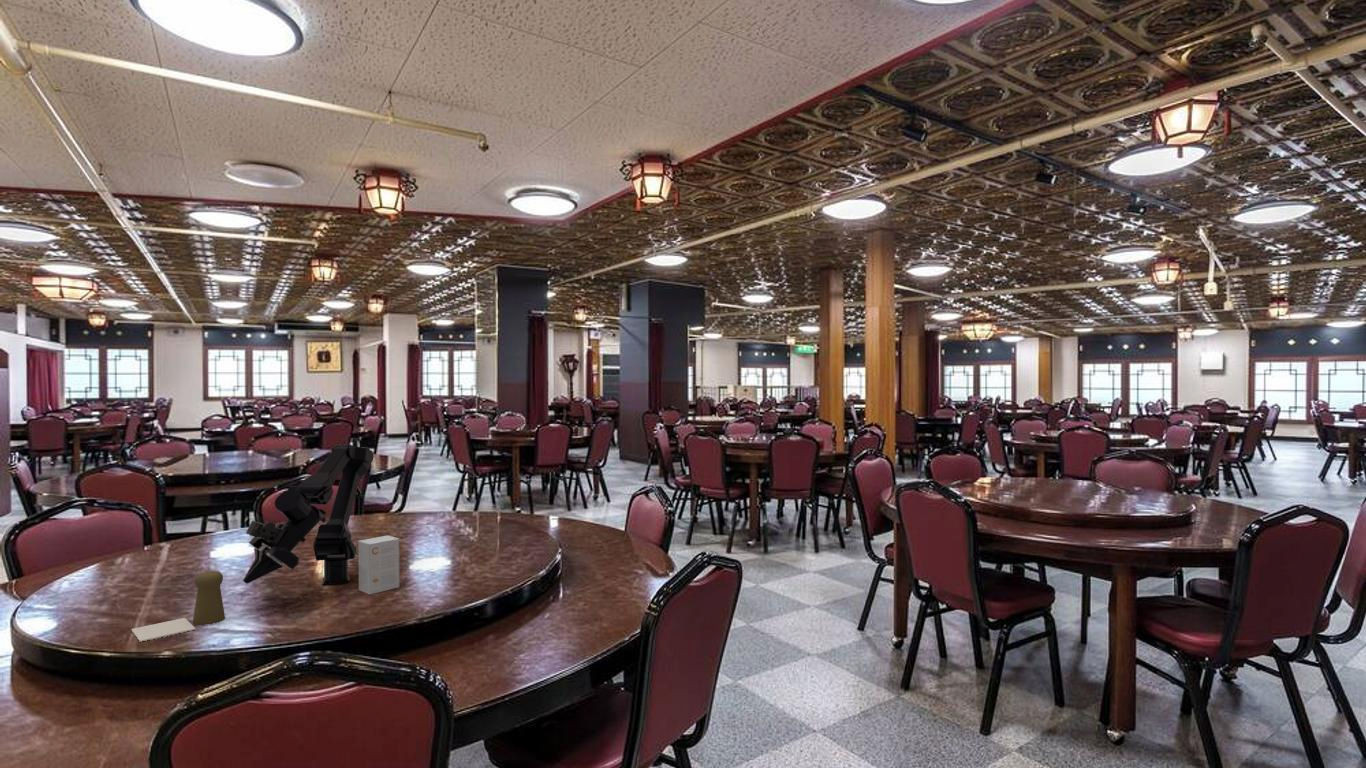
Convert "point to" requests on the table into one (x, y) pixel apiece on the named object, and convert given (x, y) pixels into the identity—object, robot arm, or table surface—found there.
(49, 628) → the table surface
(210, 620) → the cork
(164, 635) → the mat
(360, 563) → the small box
